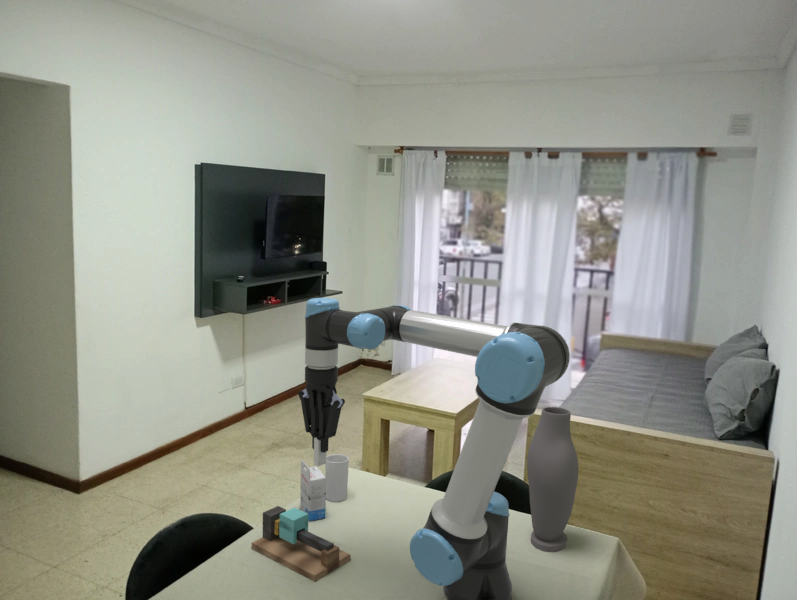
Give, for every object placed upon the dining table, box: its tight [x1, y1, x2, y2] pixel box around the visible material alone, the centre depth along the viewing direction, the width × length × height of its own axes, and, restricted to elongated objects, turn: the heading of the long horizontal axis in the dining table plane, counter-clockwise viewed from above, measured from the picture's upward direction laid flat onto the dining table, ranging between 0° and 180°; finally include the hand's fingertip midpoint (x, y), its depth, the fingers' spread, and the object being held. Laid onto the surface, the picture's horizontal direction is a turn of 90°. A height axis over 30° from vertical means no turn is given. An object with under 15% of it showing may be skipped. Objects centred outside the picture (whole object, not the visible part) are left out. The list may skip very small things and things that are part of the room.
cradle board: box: [251, 505, 352, 582], centre depth 156 cm, size 22×12×8 cm, turn 52°
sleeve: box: [279, 507, 309, 544], centre depth 157 cm, size 5×5×6 cm
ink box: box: [299, 458, 327, 522], centre depth 177 cm, size 9×5×15 cm, turn 25°
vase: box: [526, 406, 579, 553], centre depth 165 cm, size 13×13×35 cm
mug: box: [324, 453, 350, 503], centre depth 189 cm, size 10×7×12 cm, turn 177°
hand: (320, 463), depth 150 cm, fingers closed
